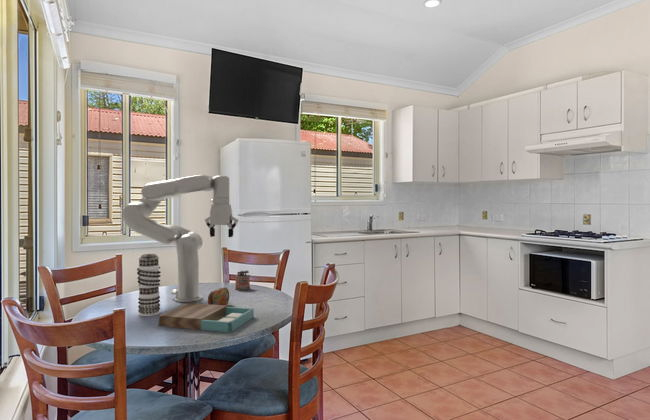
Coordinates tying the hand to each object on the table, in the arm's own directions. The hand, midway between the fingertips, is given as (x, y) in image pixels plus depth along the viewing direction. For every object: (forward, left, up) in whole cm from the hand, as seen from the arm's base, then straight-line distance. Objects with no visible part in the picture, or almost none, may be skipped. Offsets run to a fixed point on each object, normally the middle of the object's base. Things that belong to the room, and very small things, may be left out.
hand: (221, 236), depth 199 cm
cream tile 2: (+23, -31, -28) cm, 48 cm away
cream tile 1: (+23, -39, -28) cm, 53 cm away
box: (+22, -35, -30) cm, 51 cm away
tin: (+7, -15, -31) cm, 35 cm away
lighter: (0, +23, -31) cm, 38 cm away
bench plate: (+7, -35, -30) cm, 47 cm away
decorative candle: (-17, -31, -31) cm, 47 cm away
